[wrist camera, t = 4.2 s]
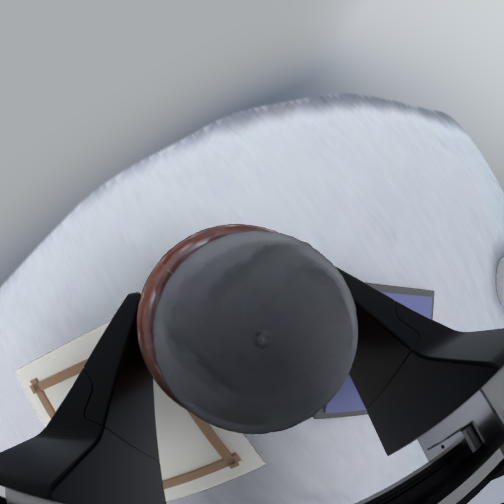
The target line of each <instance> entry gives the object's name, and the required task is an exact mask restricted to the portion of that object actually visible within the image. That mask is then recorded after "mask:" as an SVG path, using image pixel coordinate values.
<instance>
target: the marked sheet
mask: <svg viewBox="0 0 504 504" xmlns="http://www.w3.org/2000/svg"><path fill="white" fill-rule="evenodd" d="M110 322H111V321H109V322H107V323H105V324H103V325H101V326H99V327H97V328H95V329H94V330H92V331H90V332H88V333H86V334H84V335H82V336H80V337H78V338H76V339H74V340H73V341H71V342H69V343H67V344H65V345H63V346H61V347H59V348H57V349H55V350H53V351H52V352H50V353H48V354H46V355H44V356H42V357H40V358H38V359H36V360H34V361H32V362H31V363H29V364H27V365H25V366H23V367H21V368H19V369H17V370H15V373H16V375H17V378H18V380H19V382H20V384H21V386H22V388H23V390H24V392H25V394H26V396H27V397H28V399H29V401H30V403H31V405H32V407H33V408H34V410H35V412H36V414H37V415H38V417H39V419H40V420H41V422H42V423H43V425H44V427H46V426H47V424H48V423H49V421H50V420H51V418H52V417H53V415H54V414H55V412H56V411H57V409H58V408H59V406H60V405H61V403H62V401H63V400H64V398H65V397H66V395H67V394H68V392H69V391H70V389H71V388H72V386H73V384H74V382H75V381H76V379H77V377H78V375H79V374H80V372H81V370H82V368H84V365H85V363H86V361H87V360H88V358H89V356H90V355H91V353H92V351H93V349H94V348H95V346H96V344H97V343H98V341H99V339H100V338H101V336H102V334H103V333H104V331H105V330H106V328H107V326H108V325H109V323H110ZM153 388H154V406H155V420H156V432H157V442H158V451H159V460H160V462H159V463H160V467H161V474H162V481H163V487H164V493H165V499H166V502H168V501H171V500H175V499H178V498H182V497H185V496H188V495H191V494H194V493H197V492H200V491H203V490H206V489H209V488H212V487H214V486H217V485H220V484H222V483H225V482H227V481H230V480H232V479H235V478H237V477H239V476H242V475H244V474H246V473H248V472H250V471H253V470H255V469H257V468H259V467H261V466H263V465H265V462H264V461H263V460H262V458H261V457H260V456H259V454H258V453H257V452H256V451H255V449H254V448H253V447H252V445H251V444H250V442H249V441H248V440H247V438H246V437H245V436H244V434H243V433H237V432H233V431H227V430H225V429H222V428H218V427H216V426H214V425H211V424H209V423H207V422H205V421H203V420H202V419H200V418H198V417H197V416H195V415H194V414H193V413H191V412H189V411H187V410H186V409H184V408H182V407H181V406H179V405H178V404H177V403H176V402H174V401H173V400H172V399H171V398H170V397H168V396H167V395H166V393H165V392H164V391H163V390H162V389H161V388H160V387H159V386H158V384H157V383H156V381H155V380H154V378H153Z"/></svg>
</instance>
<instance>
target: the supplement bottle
mask: <svg viewBox="0 0 504 504" xmlns="http://www.w3.org/2000/svg"><path fill="white" fill-rule="evenodd" d="M137 334H138V343H139V346H140V350H141V353H142V357H143V360H144V362H145V364H146V366H147V368H148V370H149V372H150V374H151V375H152V377H153V378H154V380H155V381H156V383H157V384H158V386H159V387H160V388H161V389H162V390H163V391H164V392H165V393H166V395H167V396H168V397H170V398H171V399H172V400H173V401H174V402H176V403H177V404H178V405H179V406H181V407H182V408H184V409H186V410H187V411H189V412H191V413H193V414H194V415H195V416H197V417H198V418H200V419H202V420H203V421H205V422H207V423H209V424H211V425H214V426H216V427H218V428H222V429H225V430H227V431H233V432H237V433H244V434H266V433H269V432H276V431H282V430H285V429H288V428H291V427H293V426H295V425H297V424H299V423H301V422H303V421H305V420H307V419H309V418H310V417H312V416H314V415H315V414H316V413H317V412H318V411H319V410H321V409H322V408H323V407H324V406H326V405H327V404H328V403H329V402H330V401H331V400H332V398H333V397H334V396H335V395H336V393H337V392H338V391H339V390H340V388H341V387H342V385H343V383H344V381H345V380H346V378H347V376H348V374H349V372H350V369H351V367H352V363H353V361H354V358H355V354H356V350H357V342H358V323H357V316H356V307H355V304H354V300H353V298H352V295H351V292H350V290H349V288H348V286H347V284H346V282H345V280H344V278H343V276H342V275H341V274H340V272H339V271H338V270H337V268H336V267H335V266H334V265H333V264H332V263H331V262H330V261H329V260H328V259H327V258H326V257H324V256H323V255H322V254H321V253H320V252H319V251H317V250H315V249H314V248H313V247H312V246H311V245H310V244H308V243H306V242H302V241H300V240H298V239H296V238H294V237H292V236H288V235H285V234H281V233H278V232H276V231H273V230H270V229H267V228H263V227H258V226H252V225H243V224H228V225H221V226H216V227H212V228H208V229H205V230H202V231H200V232H197V233H195V234H193V235H191V236H189V237H187V238H186V239H184V240H182V241H181V242H179V243H178V244H177V245H175V246H174V247H173V248H172V249H170V250H169V251H168V252H167V253H166V254H165V255H164V256H163V257H162V258H161V260H160V261H159V262H158V263H157V265H156V266H155V268H154V269H153V270H152V272H151V274H150V276H149V277H148V279H147V281H146V283H145V285H144V288H143V291H142V294H141V298H140V301H139V304H138V312H137Z"/></svg>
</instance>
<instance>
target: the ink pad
mask: <svg viewBox="0 0 504 504" xmlns="http://www.w3.org/2000/svg"><path fill="white" fill-rule="evenodd" d="M366 284H367V285H369V286H371V287H373V288H375V289H376V290H378V291H380V292H382V293H383V294H385V295H387V296H389V297H390V298H392V299H394V301H397V302H399V303H401V304H403V305H404V306H406V307H408V308H410V309H412V310H413V311H415V312H417V313H419V314H421V315H423V316H425V317H427V318H429V319H431V320H432V318H433V305H434V291H431V290H422V289H413V288H404V287H396V286H387V285H379V284H371V283H366ZM365 414H368V413H367V410H366V408H365V406H364V404H363V402H362V400H361V398H360V396H359V394H358V392H357V390H356V388H355V385H354V383H353V381H352V379H351V377H350V375H349V374H348V376H347V378H346V380H345V381H344V383H343V385H342V387H341V388H340V390H339V391H338V392H337V393H336V395H335V396H334V397H333V398H332V400H331V401H330V402H329V403H328V404H327V405H326V406H324V407H323V408H322V409H321V410H319V411H318V412H317V413H316V414H315V415H314V416H312V417H313V418H314V419H324V418H337V417H348V416H357V415H365Z"/></svg>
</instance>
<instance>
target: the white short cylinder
mask: <svg viewBox="0 0 504 504" xmlns="http://www.w3.org/2000/svg"><path fill="white" fill-rule="evenodd" d="M496 288H497V294H498V298H499V300H500V303H501V304H502V305H503V306H504V257H503V258H502V259H500V261H499V264H498V266H497V273H496Z"/></svg>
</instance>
